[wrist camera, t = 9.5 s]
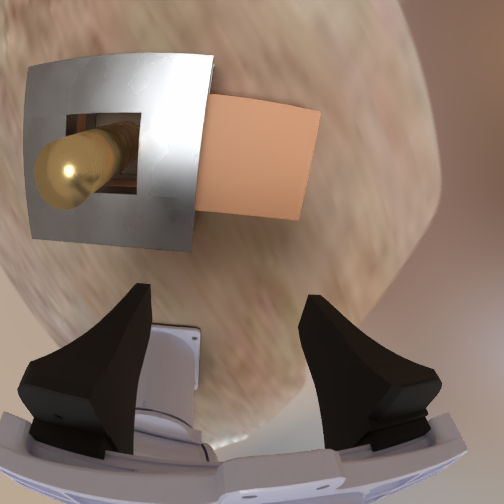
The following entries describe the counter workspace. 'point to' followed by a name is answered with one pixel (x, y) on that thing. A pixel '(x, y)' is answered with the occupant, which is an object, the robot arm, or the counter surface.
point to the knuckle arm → (251, 157)
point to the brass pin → (84, 163)
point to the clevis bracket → (149, 154)
